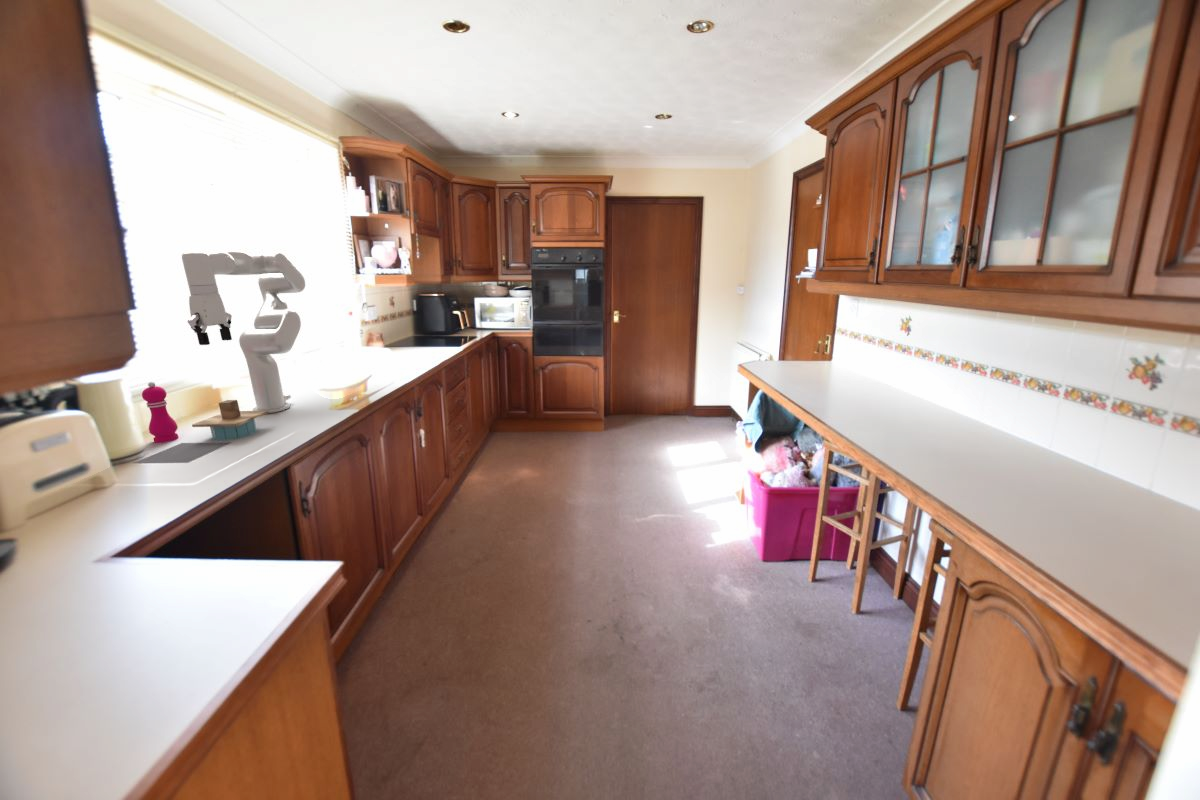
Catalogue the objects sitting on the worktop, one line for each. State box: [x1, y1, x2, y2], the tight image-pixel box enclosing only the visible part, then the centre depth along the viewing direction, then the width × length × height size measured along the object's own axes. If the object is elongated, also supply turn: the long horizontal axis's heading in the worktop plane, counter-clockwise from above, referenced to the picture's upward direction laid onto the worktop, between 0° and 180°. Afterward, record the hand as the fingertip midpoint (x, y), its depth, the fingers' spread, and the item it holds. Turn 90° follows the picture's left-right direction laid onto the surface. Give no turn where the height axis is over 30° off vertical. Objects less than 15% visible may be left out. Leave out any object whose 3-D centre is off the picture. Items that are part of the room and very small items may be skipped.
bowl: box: [209, 418, 258, 441], centre depth 174 cm, size 12×12×6 cm
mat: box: [133, 441, 232, 464], centre depth 158 cm, size 17×17×1 cm
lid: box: [191, 399, 270, 428], centre depth 172 cm, size 15×15×6 cm
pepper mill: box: [141, 381, 179, 444], centre depth 168 cm, size 7×7×20 cm
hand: (216, 342), depth 175 cm, fingers open, 9 cm apart
